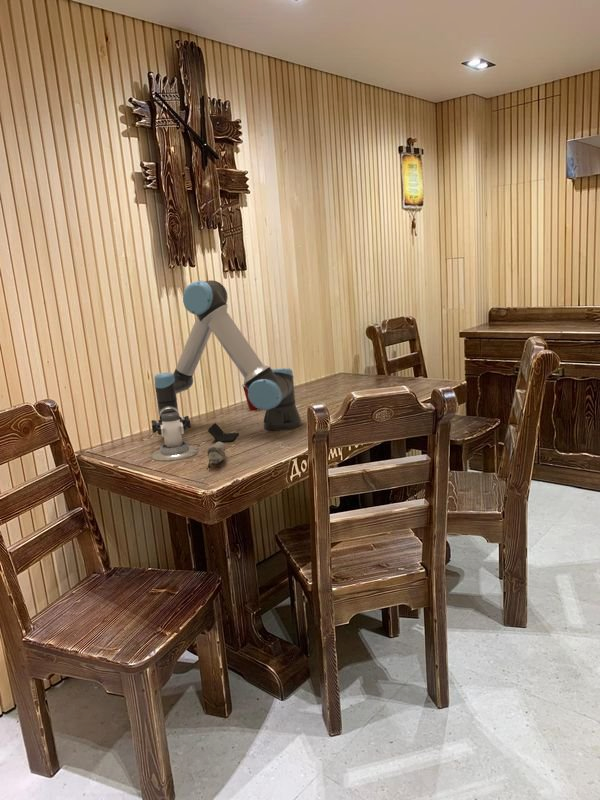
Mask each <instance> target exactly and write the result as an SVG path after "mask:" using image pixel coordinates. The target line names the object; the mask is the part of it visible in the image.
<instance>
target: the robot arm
mask: <svg viewBox="0 0 600 800" xmlns="http://www.w3.org/2000/svg"><path fill="white" fill-rule="evenodd" d="M228 299H229V298H228V292H227V290H226V287H225V286H224V285H223V284H222V283H221V282H220V281H217V280H212V279H211V280H197V281H193V282H192V283H190V284H188V285H187V286H186V287H185V289H184V290H183V295H182V303H183V306H184V308H185V309H186V311H187V312H188V313H190V314H192V315H195V316H196V318H195V321H194V323H193V325H192V328H191V330H190V333H189V335H188V338H187V339H186V343H185V345H184V348H183V350H182V352H181V354H180V356H179V359H178V362H177V365H176V367H175V369H174V372H173V373H172V372H161V373H157V374H155V376H154V387H155V388H154V389H155V395H156V401H157V412H158V418H159V419H158V421H157V420H154V419H152V420H151V421H150V423H151V430H152V433H153V434H155V433H157V434H158V435H161V437H162V438H164V431H163V425H162V417H161V415H162V414H165V413H171V412H178V413H179V408H178V397H177V394H179V393H181V392H185V391H187V390H189V389H190V388H191V387H192V386H193V383H194V378H193V377H194V374H195V372H196V369H197V367H198V365H199V363H200V361H201V358H202V355H203V353H204V350H205V348H206V346H207V344H208V341H209V340H210V338H211V335H212V333H213V334H214V336H215V337H216V339H217V341H218V342H219V343H220V345H221V346H222V347H223V349H224V351H225V352H226V354H227V355H228V356H229V358H230V359H231V361H232V362H233V364H234V366H236V368H237V369H238V371H239V372H240V374H241V376H242V377H243V380H244V381H243V384H244V385H245V387H246V388H247V390H248V398H249V400H250V402H251V403H252V405H253V406H255V407H256V408H258V409H260V410H261V411H265V414H264V418H263V421H262V422H263V423H262V425H263V429H265V430H268V431H285V430H292V429H296V428H298V427H301V426H302V417H301V415H300V413H299V410H298V408H297V406H296V405H297V404H296V395H295V384H294V379H295V378H294V377H295V376H294V375H293V370H292V369H291V368H287V367H286V368H271V366H269V365H264V363H263V362H262V360H261V359H260V357H259V356H258V354H257V353H256V352H255V350H254V349H253V348H252V346H251V345H250V343H249V342H248V340H247V339H246V337H245V336H244V334H243V332H241V330H240V329H239V327H238V325H237V324H236V323H235V321H234V320H233V318H232V317H231V315H230V314H229V312H228V308H229V307H228V304H227V303H228ZM179 418H180V427H181V435H184V434H185V430H187V429H191V427H192V425H191V424H192V423H191V420H190V418H189V415H185V416H183V417H182V416H180V415H179Z"/></svg>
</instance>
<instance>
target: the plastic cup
mask: <svg viewBox="0 0 600 800" xmlns="http://www.w3.org/2000/svg"><path fill="white" fill-rule="evenodd" d="M241 387H242V390H243V391H244V395H245V399H246V403H247V406H248V409H249V411H252V410H254V411H258V410H257V409H258V408H256V407H255V406H253V405H252V403H251V402H250V400H249V398H248V390H247V388H246V387H245V385H244V383H242V384H241Z"/></svg>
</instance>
